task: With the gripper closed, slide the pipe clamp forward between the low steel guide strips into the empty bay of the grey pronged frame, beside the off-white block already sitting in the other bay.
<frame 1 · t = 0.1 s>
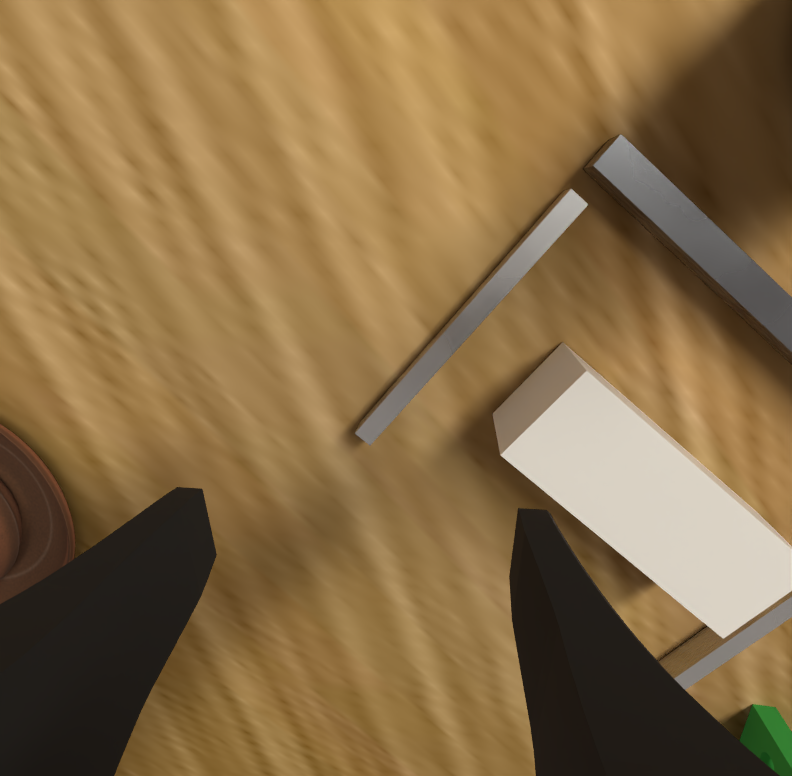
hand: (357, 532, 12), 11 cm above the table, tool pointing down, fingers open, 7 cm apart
seated block: (624, 462, 22), on the table
grey pronged frame: (772, 589, 23), on the table
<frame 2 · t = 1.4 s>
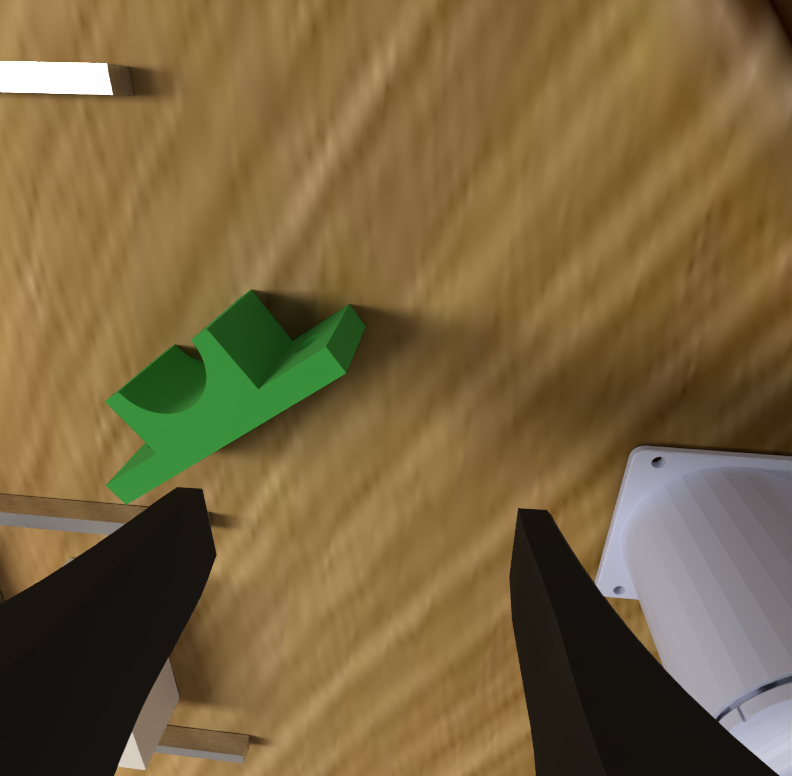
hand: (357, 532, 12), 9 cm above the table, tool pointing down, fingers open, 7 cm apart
seated block: (129, 633, 30), on the table
pipe clamp: (241, 355, 22), on the table
grey pronged frame: (89, 508, 26), on the table
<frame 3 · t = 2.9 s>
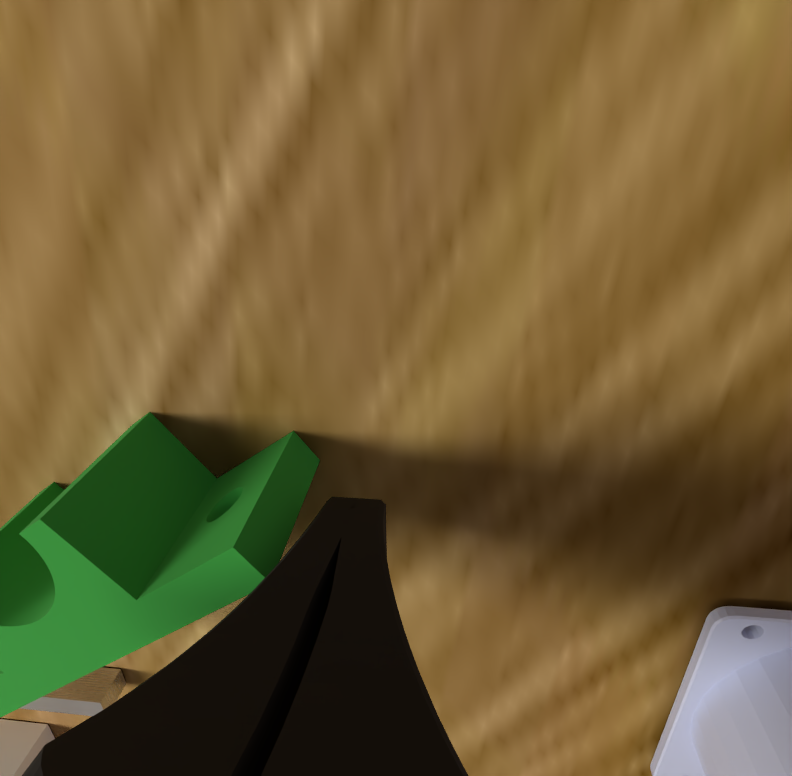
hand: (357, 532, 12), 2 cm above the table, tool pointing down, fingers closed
pipe clamp: (151, 491, 15), on the table, touching gripper
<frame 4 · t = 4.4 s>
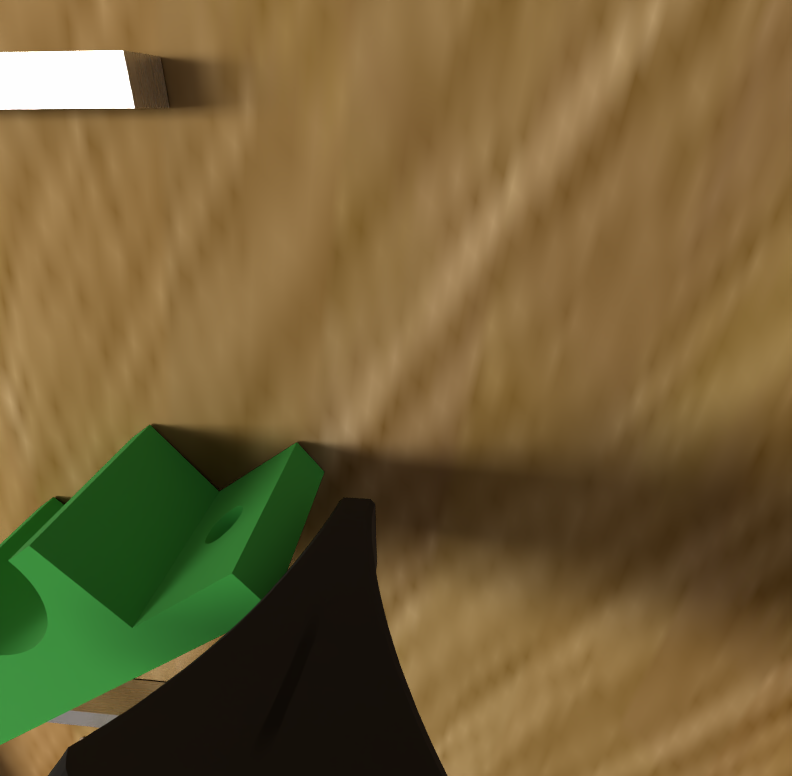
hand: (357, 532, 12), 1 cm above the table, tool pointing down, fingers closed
pipe clamp: (149, 509, 15), on the table, touching gripper
grey pronged frame: (106, 684, 18), on the table
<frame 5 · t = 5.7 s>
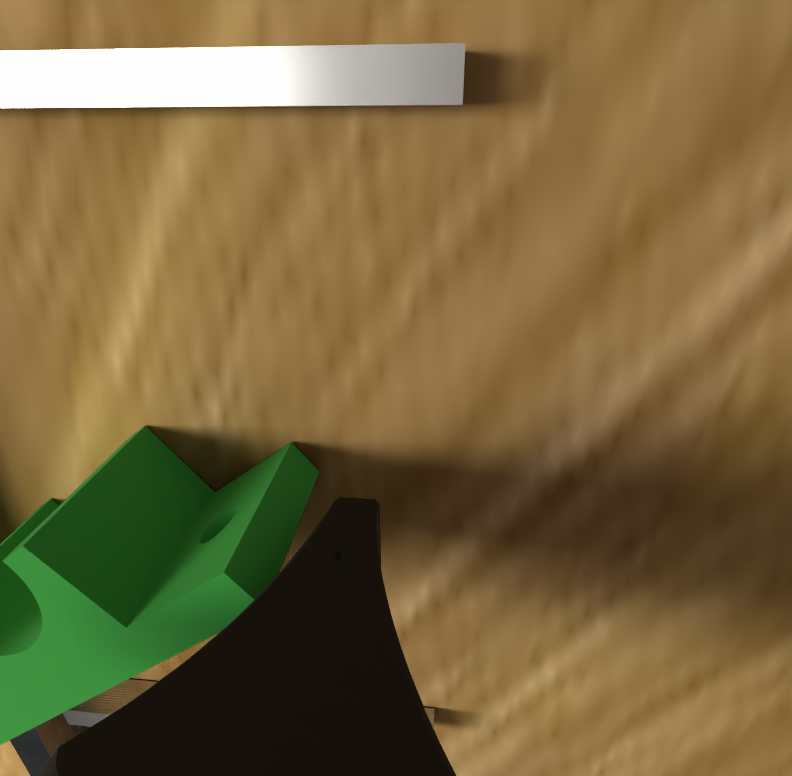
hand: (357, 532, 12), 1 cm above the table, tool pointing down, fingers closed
pipe clamp: (146, 510, 15), on the table, touching gripper
grey pronged frame: (255, 698, 18), on the table
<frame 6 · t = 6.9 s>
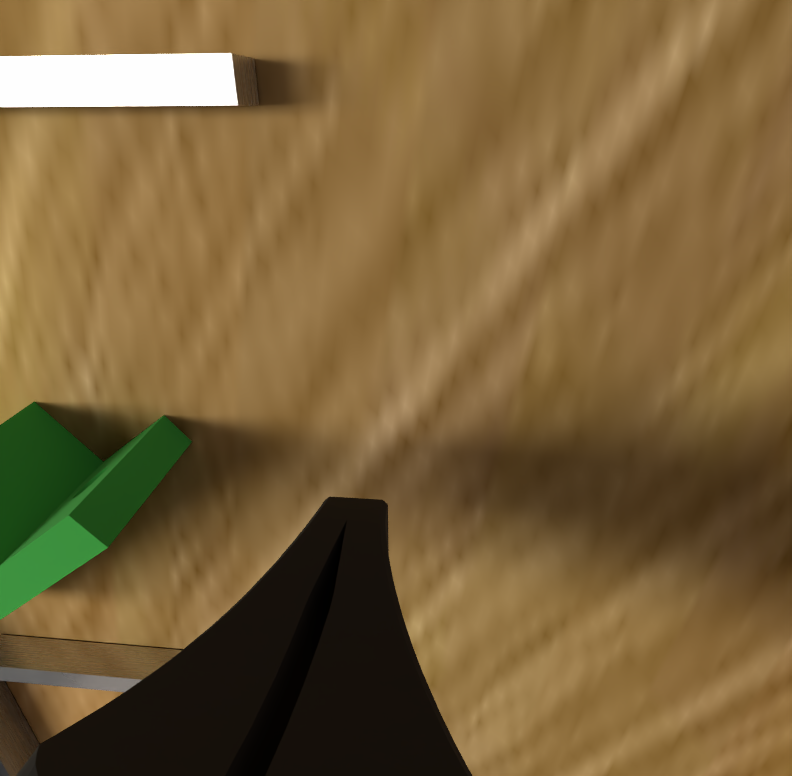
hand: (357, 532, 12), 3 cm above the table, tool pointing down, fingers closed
pipe clamp: (49, 477, 16), on the table
grey pronged frame: (158, 655, 19), on the table
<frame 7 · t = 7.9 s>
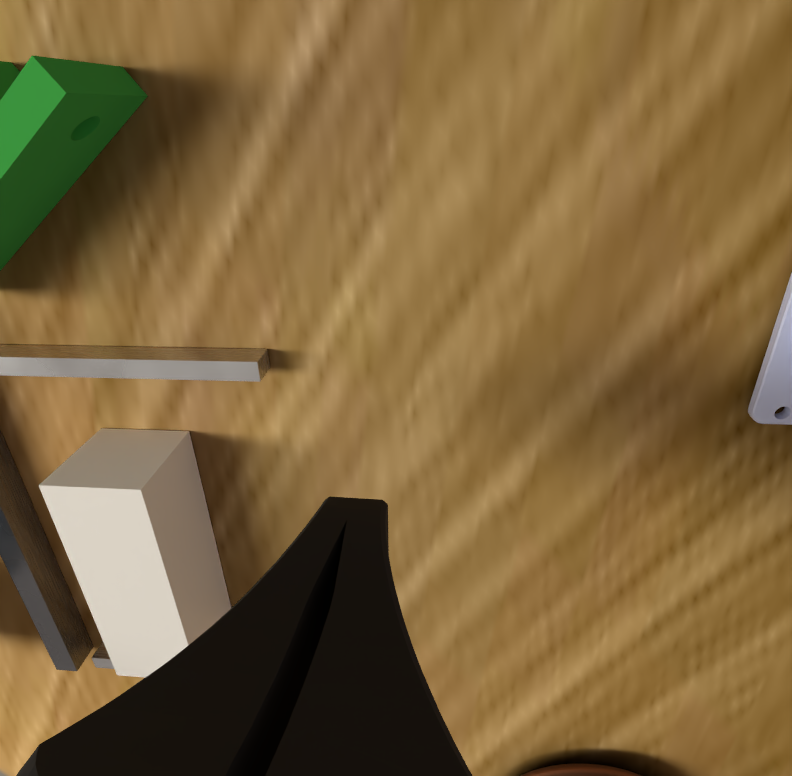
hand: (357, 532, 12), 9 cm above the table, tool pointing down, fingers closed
seated block: (172, 527, 26), on the table
pipe clamp: (28, 160, 19), on the table
grey pronged frame: (123, 355, 22), on the table
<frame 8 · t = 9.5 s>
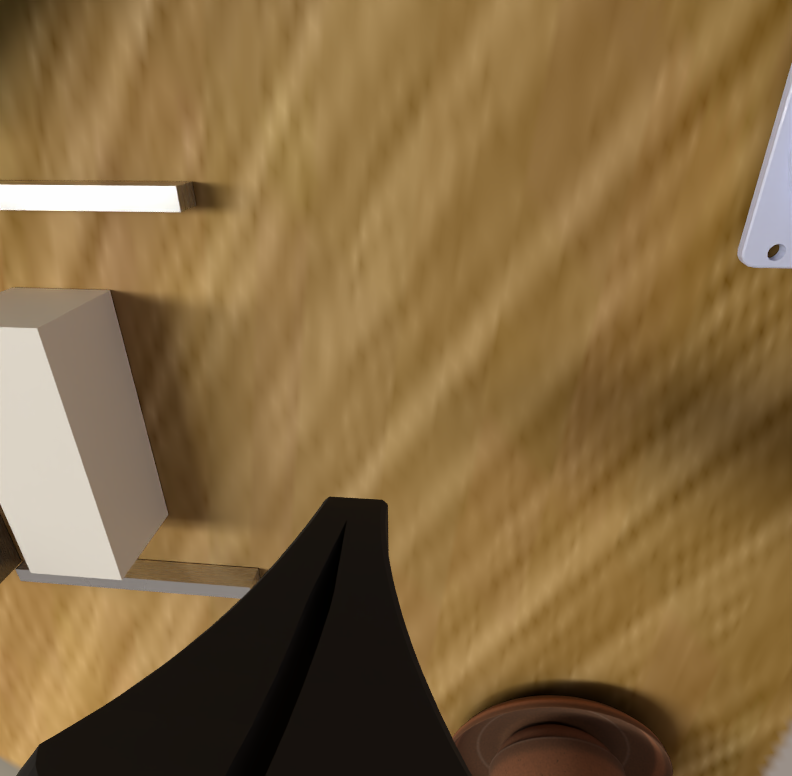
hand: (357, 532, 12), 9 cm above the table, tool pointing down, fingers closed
seated block: (98, 412, 23), on the table
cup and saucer: (549, 735, 31), on the table
grey pronged frame: (31, 192, 19), on the table
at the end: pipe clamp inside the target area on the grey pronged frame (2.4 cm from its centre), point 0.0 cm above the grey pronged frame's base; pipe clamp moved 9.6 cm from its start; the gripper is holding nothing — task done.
